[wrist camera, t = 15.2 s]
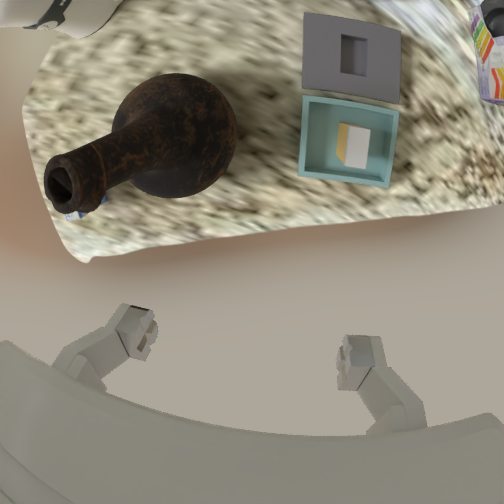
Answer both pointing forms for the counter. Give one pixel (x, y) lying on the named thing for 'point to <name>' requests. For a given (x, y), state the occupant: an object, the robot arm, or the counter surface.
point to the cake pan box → (489, 48)
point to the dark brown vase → (150, 146)
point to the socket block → (351, 57)
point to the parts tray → (326, 132)
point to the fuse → (352, 145)
